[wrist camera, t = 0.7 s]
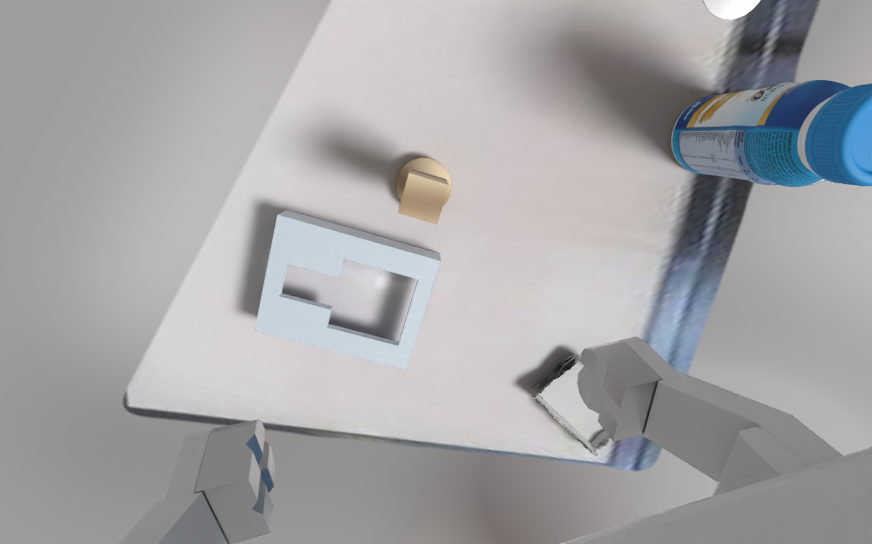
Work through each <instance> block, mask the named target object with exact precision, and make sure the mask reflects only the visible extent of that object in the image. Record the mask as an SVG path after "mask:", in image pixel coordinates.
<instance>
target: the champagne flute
mask: <svg viewBox="0 0 872 544" xmlns="http://www.w3.org/2000/svg"><path fill="white" fill-rule="evenodd" d="M703 1H704V3H705V5H706V7H707V9H708V10H709V11H710V12H711V13H712V14H713V15H715V16H717V17H719V18H722V19H735V18H739V17H741V16H743V15H746V14H747V13H748V12H750V11H751V10H752V9H753V8H754V7H755V6H756V5H757V4H758V3H759V1H760V0H703Z"/></svg>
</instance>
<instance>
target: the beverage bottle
mask: <svg viewBox="0 0 872 544" xmlns="http://www.w3.org/2000/svg"><path fill="white" fill-rule="evenodd" d="M671 147H672V151H673V154H674V157H675V159H676V160H677V162H678V163H679V164H680V165H681V166H682V167H683V168H685V169H686V170H688V171H690V172H693V173H698V174H708V175H717V176H724V177H731V178H737V179H744V180H748V181H750V182H753V183H757V184H763V185H782V186H789V187H801V186H808V185H813V184H817V183H820V182H823V181H826V180H827V181H831V182H835V183H843V184H850V185H859V186H872V84H866V85H859V86H855V87H848V86H846V85H844V84H840V83H837V82H833V81H827V80H814V81H807V82H803V83H801V82H789V83H781V84H776V85H773V86H770V87H767V88H761V89H755V90H748V91H742V92H735V93H728V94H716V95H709V96H705V97H703V98H700V99H698V100H696V101H695V102H693V103H692V104H690V105H689V106H688V107H687V108H686V109H685V110H684V111H683V112H682V113H681V114H680V116H679V117H678V119H677V121H676V123H675V125H674V128H673V131H672V136H671Z"/></svg>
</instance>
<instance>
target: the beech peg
mask: <svg viewBox="0 0 872 544" xmlns="http://www.w3.org/2000/svg"><path fill="white" fill-rule="evenodd" d="M396 191H397V195H398V197H399V199H400V201H401V203H400V207H399V211H398V213H400V214H403V215H407V216H410V217H413V218H417V219H420V220H424V221H427V222H430V223H434V224H437V223H438V219H439V216H440V213H441V210H442V207H443V205H444V204H445V203H446V202H447V200H448V198H449V196H450V192H451V180H450V176H449V174H448V172H447V171H446V169H445V168H444V166H443V165H442V164H440V163H439V162H438V161H436V160H433V159H431V158H417V159H414V160H411V161H410V162H408V163H407V164H406V165H405V166H404V167H403V168H402V169H401V171H400V172H399V174H398V177H397V181H396Z"/></svg>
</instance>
